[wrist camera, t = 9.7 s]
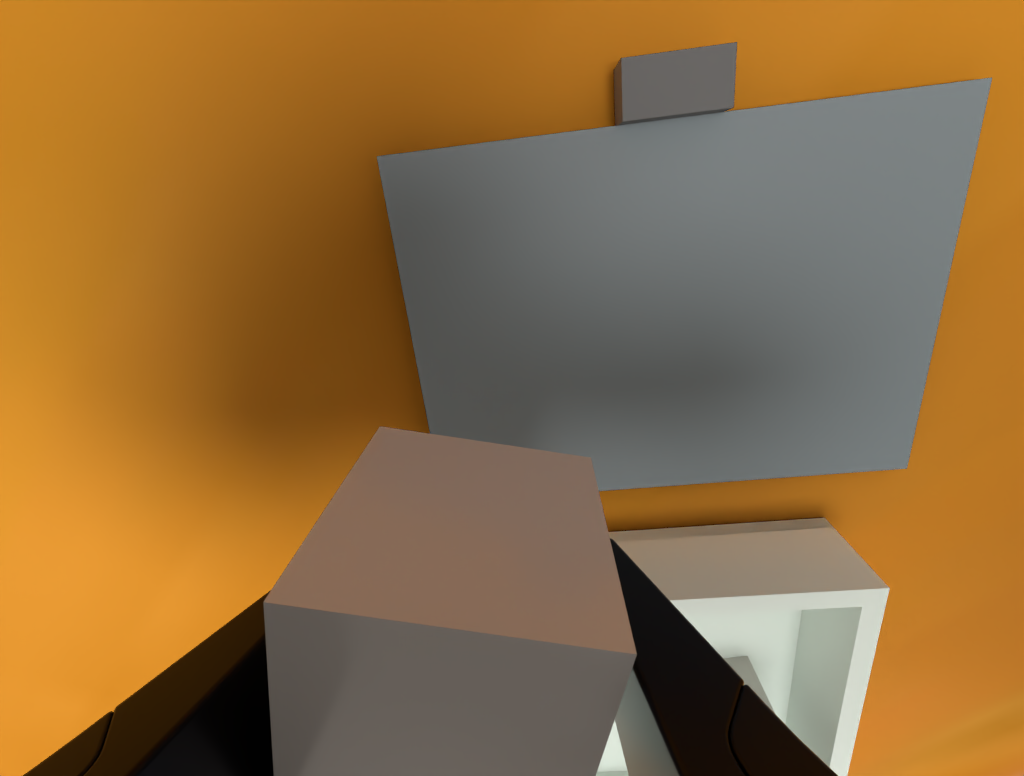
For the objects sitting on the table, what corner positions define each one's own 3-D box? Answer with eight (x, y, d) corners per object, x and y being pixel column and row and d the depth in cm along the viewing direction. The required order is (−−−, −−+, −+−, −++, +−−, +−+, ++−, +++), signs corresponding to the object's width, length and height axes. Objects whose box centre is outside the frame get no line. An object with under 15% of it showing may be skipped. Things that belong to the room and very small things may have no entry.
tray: (824, 517, 15) (889, 588, 13) (787, 761, 20) (829, 853, 17) (451, 542, 16) (435, 613, 14) (495, 771, 21) (489, 859, 18)
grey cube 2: (591, 457, 9) (636, 654, 5) (553, 615, 10) (566, 861, 7) (380, 426, 9) (263, 601, 5) (371, 589, 10) (276, 823, 7)
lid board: (990, 18, 11) (1034, 0, 10) (897, 461, 15) (922, 479, 14) (371, 102, 12) (357, 94, 11) (445, 495, 16) (439, 513, 15)
